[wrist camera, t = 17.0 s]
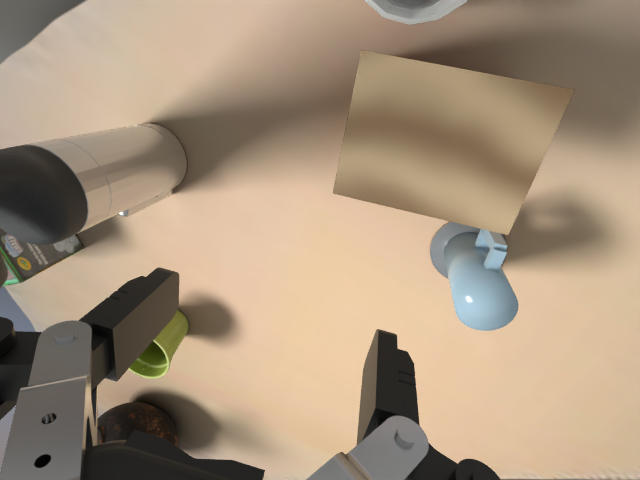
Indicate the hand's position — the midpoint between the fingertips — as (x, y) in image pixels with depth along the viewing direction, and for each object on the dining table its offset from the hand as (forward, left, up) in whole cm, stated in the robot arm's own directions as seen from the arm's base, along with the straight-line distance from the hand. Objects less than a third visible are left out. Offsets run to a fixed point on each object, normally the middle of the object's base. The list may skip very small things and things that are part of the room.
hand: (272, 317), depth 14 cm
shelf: (+6, -5, -33) cm, 34 cm away
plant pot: (-39, +19, -33) cm, 55 cm away
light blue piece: (-5, -17, -33) cm, 37 cm away
